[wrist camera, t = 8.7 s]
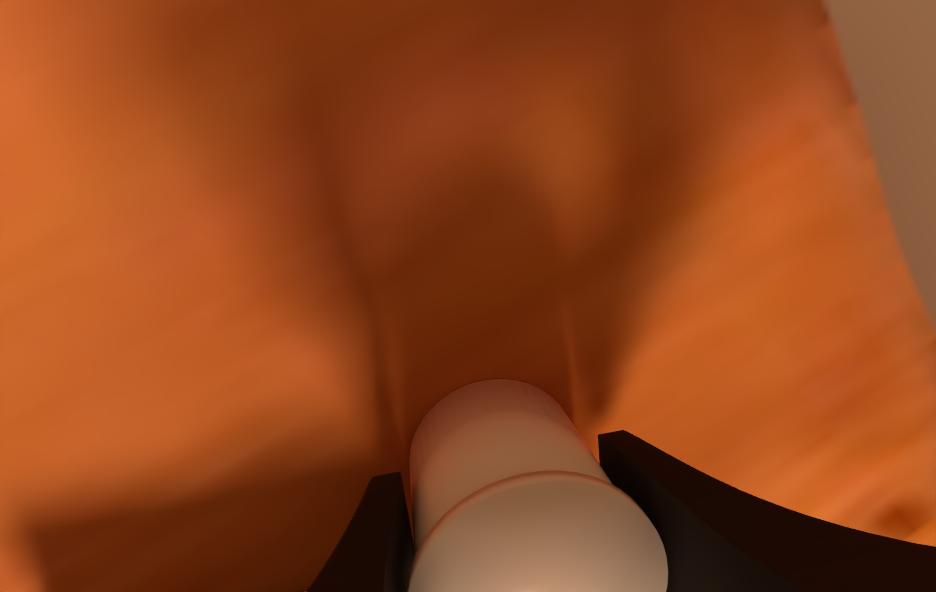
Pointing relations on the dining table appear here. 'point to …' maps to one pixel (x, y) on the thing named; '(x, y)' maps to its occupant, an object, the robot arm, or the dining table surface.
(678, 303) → the dining table surface
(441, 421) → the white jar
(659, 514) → the robot arm
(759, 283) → the dining table surface
